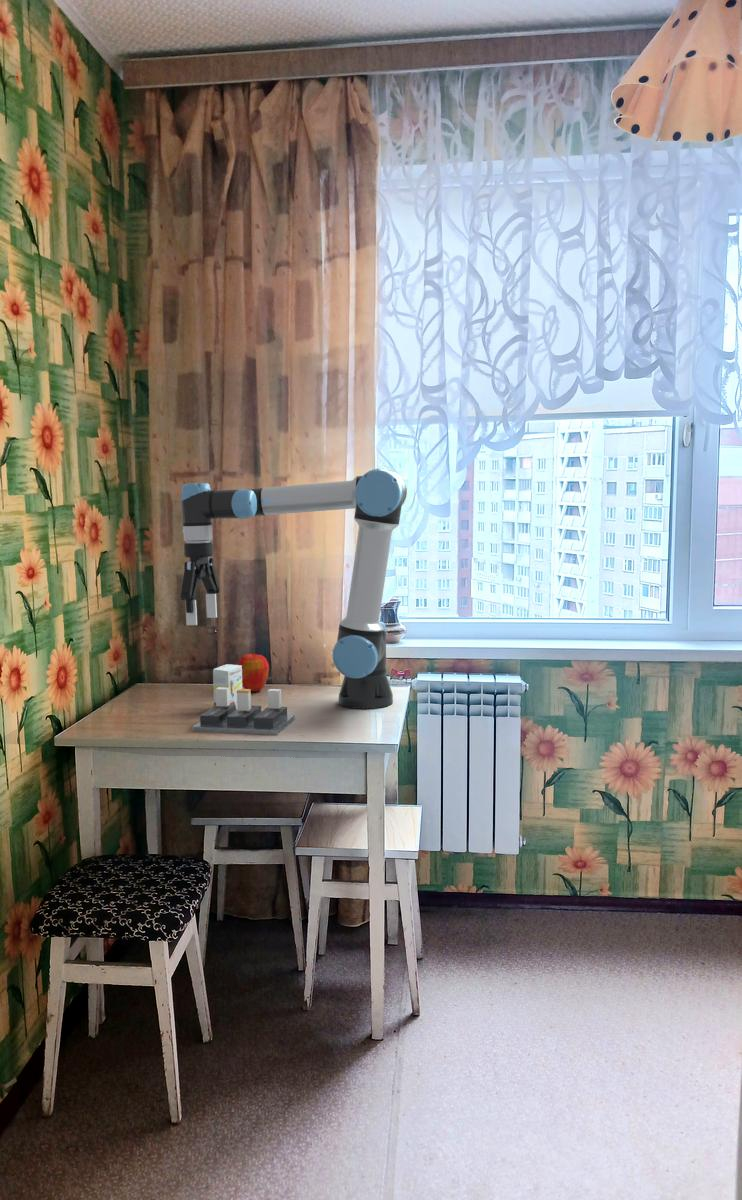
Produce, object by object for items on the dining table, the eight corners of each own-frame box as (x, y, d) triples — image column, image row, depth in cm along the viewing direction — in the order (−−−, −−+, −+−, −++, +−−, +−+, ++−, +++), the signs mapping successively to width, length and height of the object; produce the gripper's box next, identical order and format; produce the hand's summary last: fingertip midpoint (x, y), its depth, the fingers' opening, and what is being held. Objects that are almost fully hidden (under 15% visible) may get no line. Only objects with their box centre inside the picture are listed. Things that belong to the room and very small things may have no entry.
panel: (294, 719, 238) (294, 705, 237) (277, 734, 223) (276, 719, 223) (214, 716, 242) (214, 702, 242) (192, 731, 227) (192, 716, 227)
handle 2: (281, 706, 235) (281, 689, 234) (279, 708, 233) (278, 691, 232) (270, 706, 235) (269, 688, 235) (268, 707, 233) (267, 690, 233)
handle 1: (229, 704, 237) (229, 687, 237) (227, 706, 236) (226, 689, 235) (219, 704, 238) (218, 687, 238) (216, 706, 236) (215, 688, 236)
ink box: (229, 714, 244) (228, 670, 243) (213, 712, 246) (211, 669, 244) (244, 706, 252) (242, 664, 251) (228, 705, 254) (226, 663, 253)
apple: (233, 694, 268) (232, 653, 266) (243, 687, 276) (242, 648, 275) (264, 695, 266) (263, 654, 264) (273, 688, 275) (272, 649, 273)
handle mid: (251, 708, 233) (250, 689, 232) (248, 710, 231) (247, 690, 230) (239, 708, 233) (239, 688, 233) (237, 710, 231) (236, 690, 231)
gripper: (203, 539, 255) (207, 614, 257) (164, 545, 231) (169, 628, 233) (228, 538, 253) (232, 614, 256) (192, 544, 229) (196, 628, 232)
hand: (202, 621), depth 245 cm, fingers open, 13 cm apart
